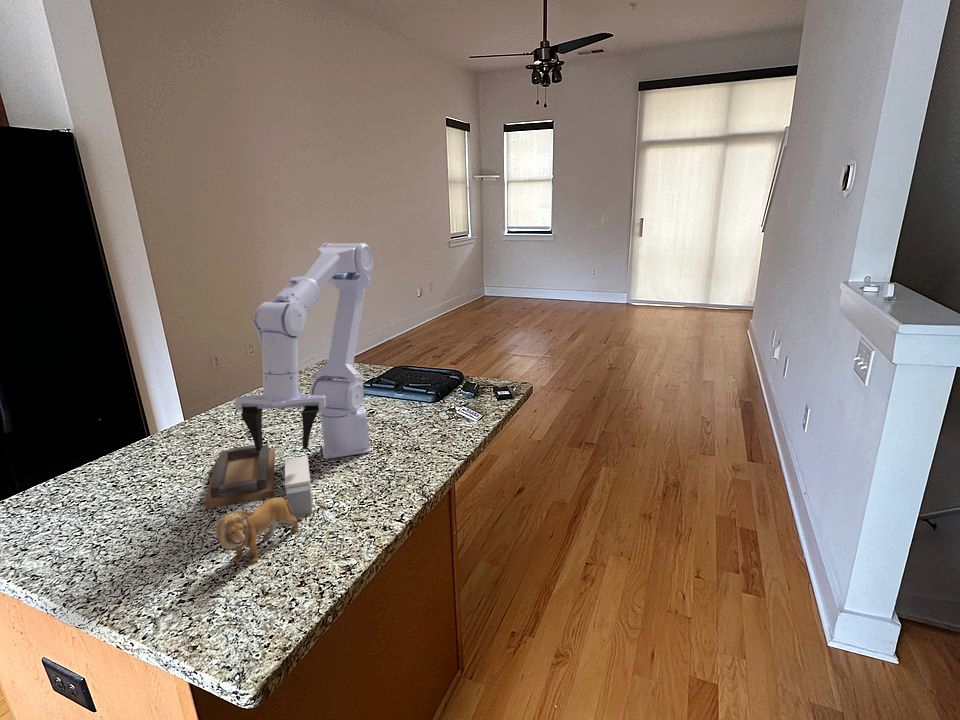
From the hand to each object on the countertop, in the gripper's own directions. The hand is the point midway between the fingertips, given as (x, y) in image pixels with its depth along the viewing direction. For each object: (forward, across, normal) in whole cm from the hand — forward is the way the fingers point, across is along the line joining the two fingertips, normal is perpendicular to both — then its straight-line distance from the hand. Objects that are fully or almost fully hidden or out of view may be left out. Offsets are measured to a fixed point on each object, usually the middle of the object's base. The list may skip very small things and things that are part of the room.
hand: (282, 448), depth 90 cm
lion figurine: (+12, -1, -14) cm, 18 cm away
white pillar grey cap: (+9, +3, +1) cm, 9 cm away
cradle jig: (+9, -9, +9) cm, 15 cm away
